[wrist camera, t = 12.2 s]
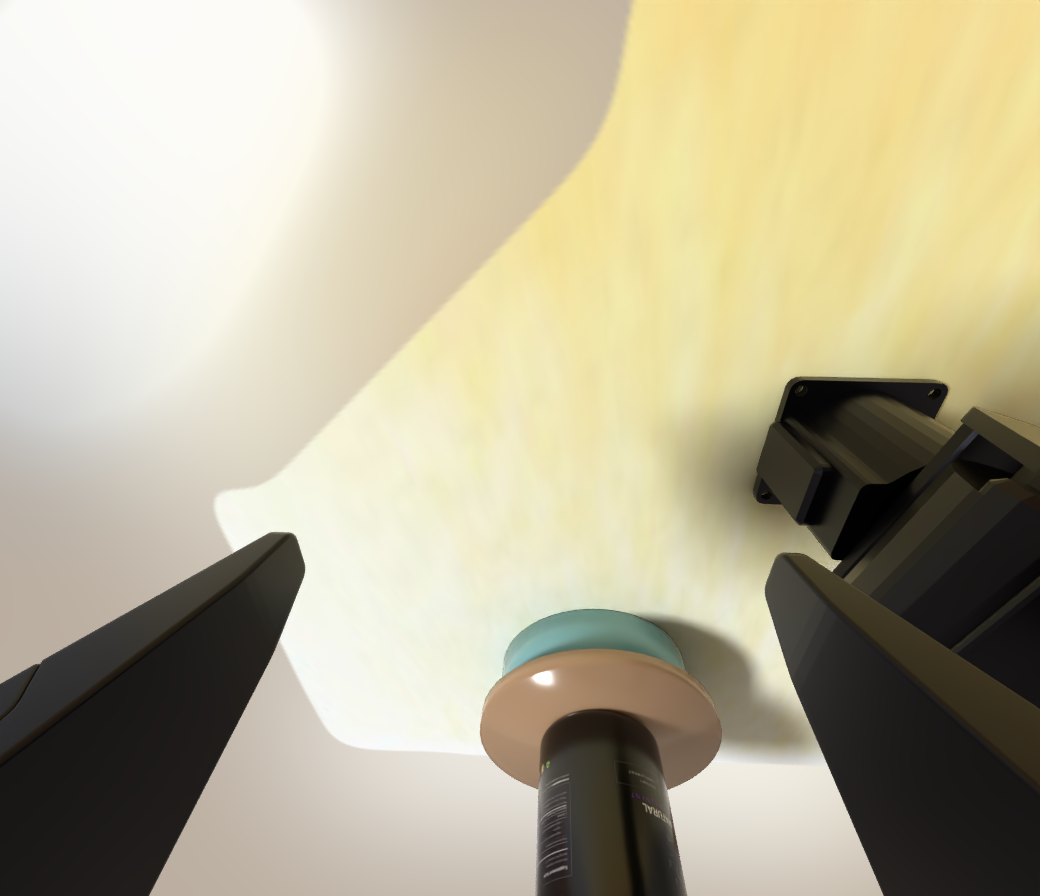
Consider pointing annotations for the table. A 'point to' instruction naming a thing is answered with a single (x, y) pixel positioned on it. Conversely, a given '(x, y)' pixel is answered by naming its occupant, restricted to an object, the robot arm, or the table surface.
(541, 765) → the supplement bottle
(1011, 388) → the table surface
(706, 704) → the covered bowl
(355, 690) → the table surface
